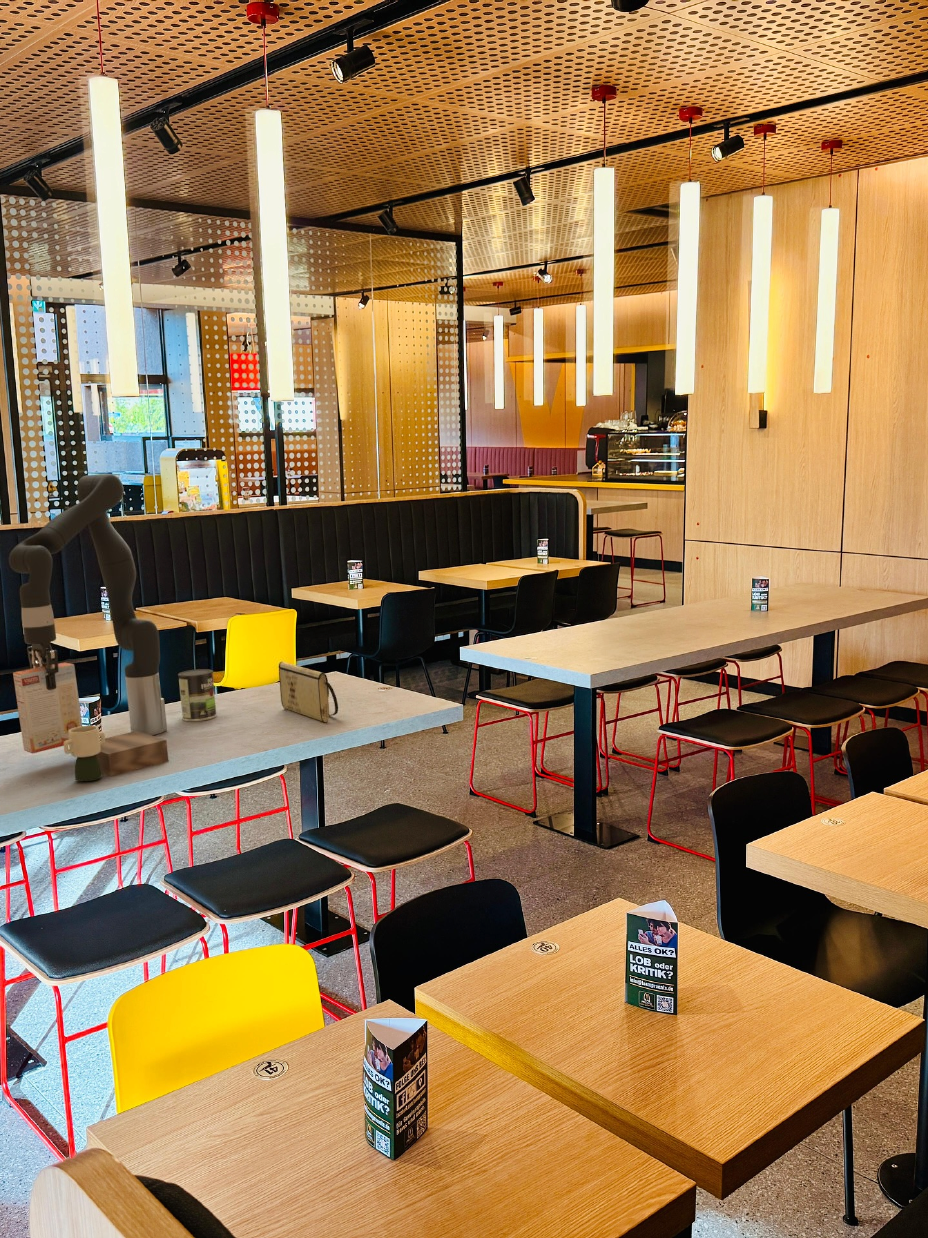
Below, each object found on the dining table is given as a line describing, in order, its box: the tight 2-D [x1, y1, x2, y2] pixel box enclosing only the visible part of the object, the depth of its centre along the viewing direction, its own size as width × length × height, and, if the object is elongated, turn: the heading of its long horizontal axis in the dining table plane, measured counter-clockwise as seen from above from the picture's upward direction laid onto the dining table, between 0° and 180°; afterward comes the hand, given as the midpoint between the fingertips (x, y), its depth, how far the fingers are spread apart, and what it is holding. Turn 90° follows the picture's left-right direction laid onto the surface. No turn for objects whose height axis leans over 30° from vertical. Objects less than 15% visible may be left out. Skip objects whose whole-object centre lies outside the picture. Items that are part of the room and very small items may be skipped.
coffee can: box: [177, 668, 218, 722], centre depth 315 cm, size 10×10×14 cm
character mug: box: [63, 725, 106, 782], centre depth 255 cm, size 11×7×13 cm, turn 141°
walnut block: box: [96, 731, 169, 777], centre depth 269 cm, size 16×16×6 cm
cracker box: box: [12, 661, 83, 754], centre depth 268 cm, size 14×6×21 cm, turn 134°
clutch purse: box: [278, 661, 339, 724], centre depth 312 cm, size 30×7×15 cm, turn 36°
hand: (46, 687), depth 267 cm, fingers closed on cracker box, 6 cm apart
